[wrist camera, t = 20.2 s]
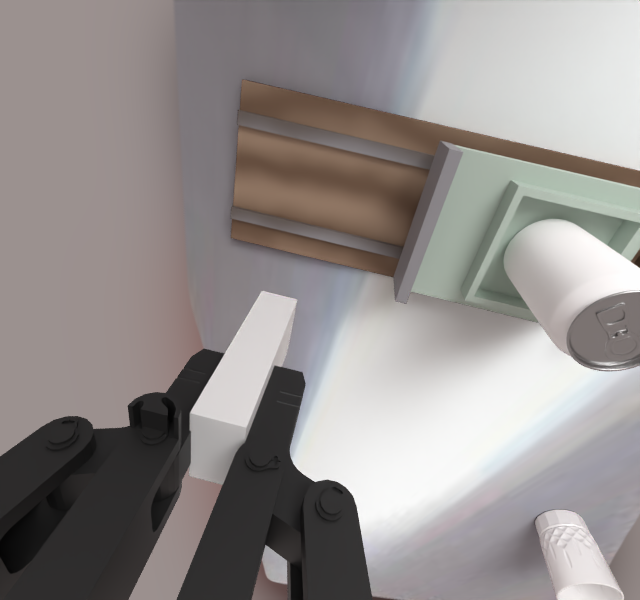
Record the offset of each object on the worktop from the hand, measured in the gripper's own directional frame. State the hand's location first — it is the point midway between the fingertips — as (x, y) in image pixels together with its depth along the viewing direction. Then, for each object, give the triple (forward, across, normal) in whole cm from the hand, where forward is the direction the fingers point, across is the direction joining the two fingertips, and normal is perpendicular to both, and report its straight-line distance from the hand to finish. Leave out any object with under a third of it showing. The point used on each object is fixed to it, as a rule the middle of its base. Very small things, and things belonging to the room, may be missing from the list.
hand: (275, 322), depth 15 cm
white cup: (+25, -45, +42) cm, 66 cm away
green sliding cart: (+23, -17, 0) cm, 28 cm away
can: (+19, -19, 0) cm, 27 cm away
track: (+24, -10, 0) cm, 27 cm away
